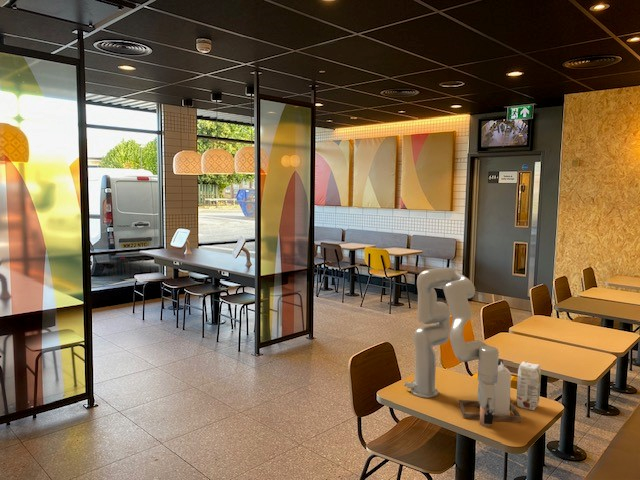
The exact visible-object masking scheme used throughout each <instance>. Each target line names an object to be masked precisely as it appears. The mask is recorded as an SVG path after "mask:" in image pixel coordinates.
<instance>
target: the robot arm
mask: <svg viewBox="0 0 640 480" xmlns="http://www.w3.org/2000/svg"><path fill="white" fill-rule="evenodd" d="M416 288H417V319H418V321H419V323H420V324H423V326H420V327H418V328H417V329H416V330H415V331H414V333H413V343H414V351H415V353H414V379H413V381H411V382H409V381H408V382H406V381H405V382H404V387H406V388H407V389H410V391H411V394H413V395H414V396H415V397H419V398H425V399H426V398H431V399H432V398H435V397H437V396H439V390H438V388H436V368H437V367H436V366H437V355H436V353H435V350H434V347H435V346H439V345H443V344H444V345H445V344H446V343H447V342H448V341H449V340H450V342H449V343H450V344H451V348H452V351H453V353H454V355H455V358H456V359H457V360H458V361H460V362H461V363H468V362H471V361H476V360H477V361H478V364H477V381H478V386H477V395H476V396H477V401H479V403H480V404H479V408H478V411H479V413H480V405H481V407H482V408H483V407H485V413H484V423H485V424H491V425H493V424H494V422H493V421H494V420H493V408H494V402H495V384H496V383H497V378H498V359H499V355H500V354H499V350H498V348H497V347H495V346H493V345H488V344H486V343H485V342H484V341H482V340H479V339H478V340H472V341H471V340H470V341H467V342H466V341H465V338H464V328H465V325H466V324H467V323H468V321H469V320H470V319H472V317H473V312H472V309H471V305H470V303H469V299H472V298H473V297H474V295H475V294H476V287H475V285H474V283H473V282H472V281H471V280H470V279H469V278H468V277H466V276H465V275H463V274H462V273H461V272H459V271H458V270H456V269H455V268H453V267H437V268H429V269H425V270H423V271H421V272H420V273H419V275H418V276H417V279H416ZM435 288H443V293H444V296H445V300H446V303H447V304H446V303H445V302H443V301H437V300H438V298H437V297H438V296H437V292H436V290H435ZM451 319H452V322H451ZM424 325H425V326H424ZM486 405H488V406H486ZM487 408H489V410H487Z"/></svg>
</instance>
